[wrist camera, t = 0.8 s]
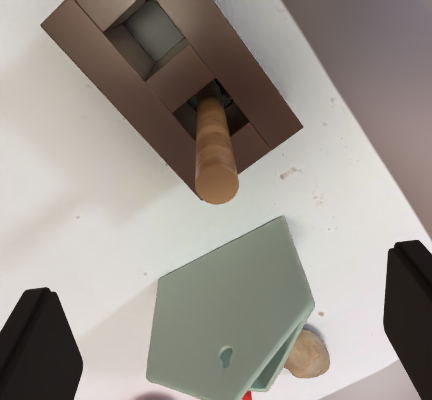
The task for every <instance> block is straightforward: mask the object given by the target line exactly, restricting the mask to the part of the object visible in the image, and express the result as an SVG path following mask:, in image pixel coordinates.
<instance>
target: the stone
mask: <svg viewBox="0 0 432 400" xmlns="http://www.w3.org/2000/svg"><path fill="white" fill-rule="evenodd" d="M329 366H330V359H329V354H328V351H327V348H326V346H325V344H324V343H323V341H322V340H321V339H320V338H319V337H318V336H317V335H316V334H315V333H313V332H311V331H308V330H305V329H302V330H301V332H300V334H299V336H298V338H297V340H296V342H295V344H294V346H293V348H292V350H291V352H290V354H289V356H288V358H287V360H286V362H285V364H284V366H283V367H284V368H286V369H288V370H289V371H290V372H291V373H292V375H293V376H295V377H298V378H314V377H317V376H319V375H322V374H324V373H325V372H326V371H327V370H328V369H329Z"/></svg>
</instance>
